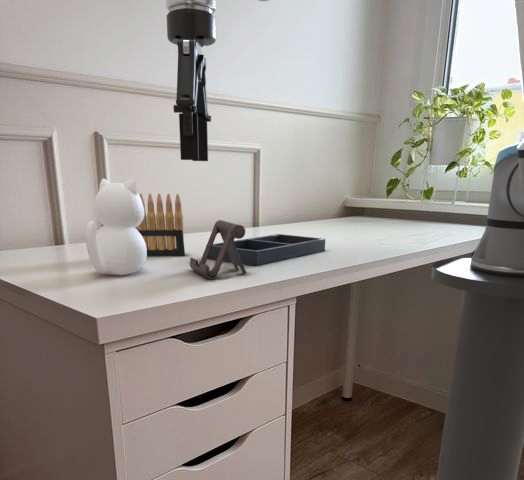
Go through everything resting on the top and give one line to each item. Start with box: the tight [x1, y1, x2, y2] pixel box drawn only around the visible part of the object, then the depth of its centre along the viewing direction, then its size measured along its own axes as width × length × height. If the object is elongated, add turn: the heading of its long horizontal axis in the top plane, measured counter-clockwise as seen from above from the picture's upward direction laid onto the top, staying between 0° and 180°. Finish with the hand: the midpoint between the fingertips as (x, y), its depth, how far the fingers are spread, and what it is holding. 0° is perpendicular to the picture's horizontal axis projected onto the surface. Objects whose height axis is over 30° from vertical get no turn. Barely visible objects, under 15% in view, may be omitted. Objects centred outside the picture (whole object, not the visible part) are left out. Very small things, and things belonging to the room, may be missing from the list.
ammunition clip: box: [135, 193, 186, 257], centre depth 102 cm, size 11×2×12 cm, turn 98°
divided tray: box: [205, 233, 326, 267], centre depth 107 cm, size 13×24×3 cm, turn 143°
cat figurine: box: [85, 178, 148, 276], centre depth 84 cm, size 9×12×15 cm
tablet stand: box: [189, 219, 247, 280], centre depth 86 cm, size 9×8×8 cm
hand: (195, 160), depth 86 cm, fingers open, 13 cm apart
